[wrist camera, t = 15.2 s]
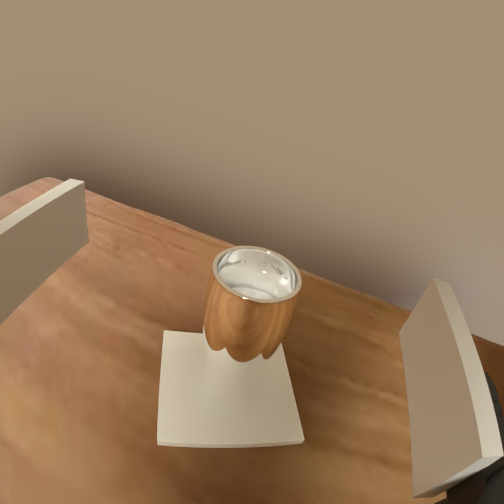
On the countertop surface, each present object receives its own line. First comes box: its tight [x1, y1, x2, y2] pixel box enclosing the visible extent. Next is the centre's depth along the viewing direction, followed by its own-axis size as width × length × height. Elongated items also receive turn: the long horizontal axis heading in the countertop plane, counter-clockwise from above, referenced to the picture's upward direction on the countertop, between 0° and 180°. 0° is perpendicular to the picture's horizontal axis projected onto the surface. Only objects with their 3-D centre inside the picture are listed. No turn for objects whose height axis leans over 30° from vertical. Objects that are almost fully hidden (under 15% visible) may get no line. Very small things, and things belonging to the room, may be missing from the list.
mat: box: [157, 330, 305, 448], centre depth 31 cm, size 14×14×1 cm
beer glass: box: [199, 246, 302, 408], centre depth 27 cm, size 7×7×15 cm
